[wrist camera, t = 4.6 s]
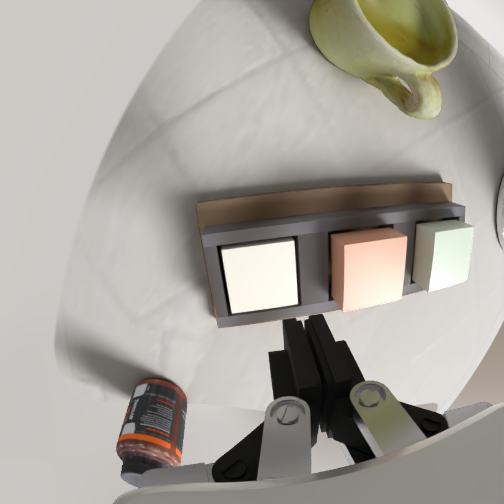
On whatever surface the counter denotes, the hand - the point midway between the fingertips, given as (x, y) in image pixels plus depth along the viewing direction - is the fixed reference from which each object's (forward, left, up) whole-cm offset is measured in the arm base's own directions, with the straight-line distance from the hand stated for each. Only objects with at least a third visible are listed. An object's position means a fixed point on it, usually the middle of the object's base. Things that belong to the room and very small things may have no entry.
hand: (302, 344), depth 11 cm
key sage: (-13, 0, -8) cm, 15 cm away
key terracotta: (-6, 0, -8) cm, 10 cm away
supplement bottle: (+13, +14, -11) cm, 22 cm away
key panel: (-6, 0, -11) cm, 13 cm away
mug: (-10, -16, -11) cm, 22 cm away
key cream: (+1, 0, -10) cm, 10 cm away
